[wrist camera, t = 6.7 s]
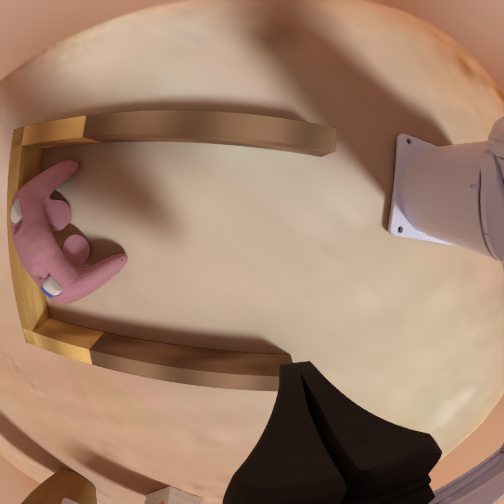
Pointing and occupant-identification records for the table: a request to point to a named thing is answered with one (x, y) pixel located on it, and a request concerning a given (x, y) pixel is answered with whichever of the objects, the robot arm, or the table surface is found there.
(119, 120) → the bay
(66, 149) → the table surface
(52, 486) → the plant pot
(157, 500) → the small box
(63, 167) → the video game controller
